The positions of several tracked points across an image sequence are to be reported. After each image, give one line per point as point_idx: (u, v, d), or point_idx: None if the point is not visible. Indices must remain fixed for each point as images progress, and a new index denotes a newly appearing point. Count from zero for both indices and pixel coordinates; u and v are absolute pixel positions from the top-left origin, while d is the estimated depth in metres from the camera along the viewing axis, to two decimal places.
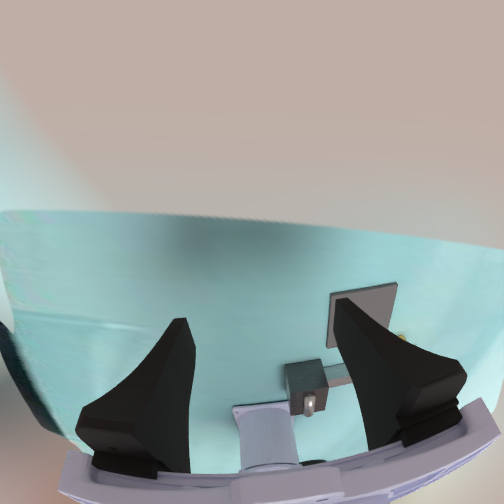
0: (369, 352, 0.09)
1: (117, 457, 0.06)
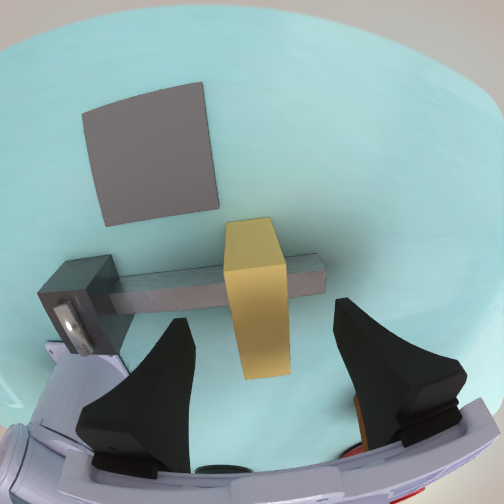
0: (369, 352, 0.09)
1: (117, 457, 0.06)
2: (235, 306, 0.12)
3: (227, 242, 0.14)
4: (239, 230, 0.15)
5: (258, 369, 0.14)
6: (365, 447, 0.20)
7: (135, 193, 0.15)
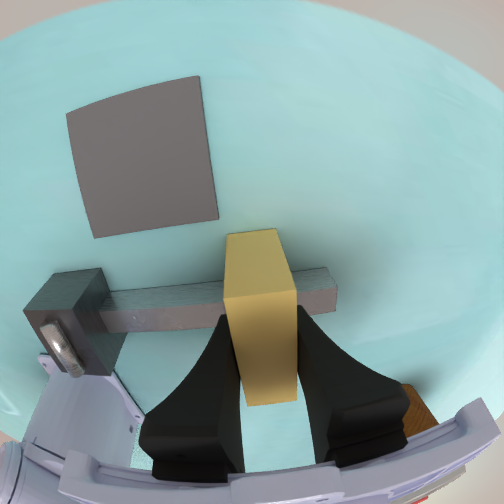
0: (309, 364, 0.09)
1: (182, 464, 0.06)
2: (237, 335, 0.10)
3: (228, 259, 0.12)
4: (242, 244, 0.13)
5: (262, 396, 0.12)
6: None
7: (125, 202, 0.13)
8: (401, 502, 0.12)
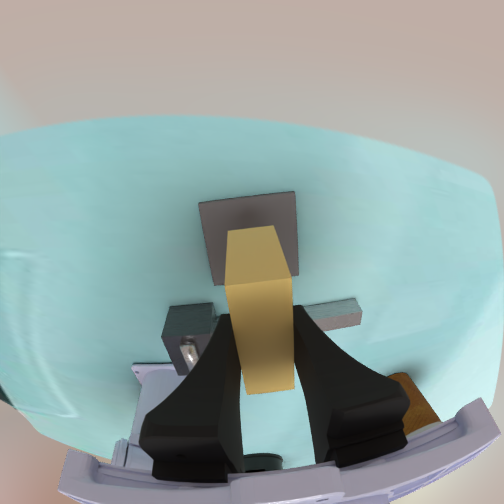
0: (309, 364, 0.09)
1: (182, 464, 0.06)
2: (237, 321, 0.11)
3: (228, 253, 0.13)
4: (242, 239, 0.14)
5: (261, 384, 0.13)
6: None
7: None
8: None
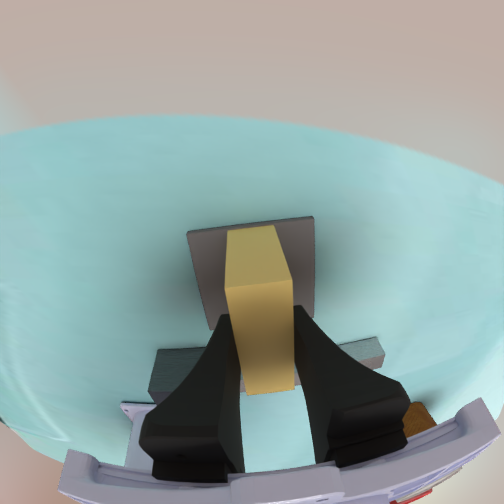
0: (309, 364, 0.09)
1: (182, 464, 0.06)
2: (237, 323, 0.11)
3: (228, 253, 0.13)
4: (241, 239, 0.14)
5: (261, 385, 0.13)
6: None
7: None
8: None
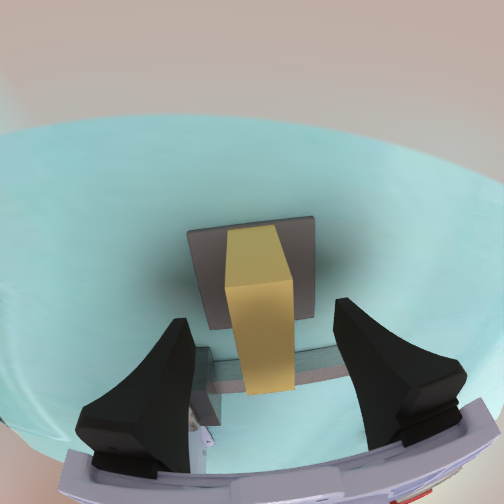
0: (369, 352, 0.09)
1: (117, 457, 0.06)
2: (237, 323, 0.11)
3: (229, 253, 0.13)
4: (242, 239, 0.14)
5: (261, 385, 0.13)
6: None
7: None
8: None
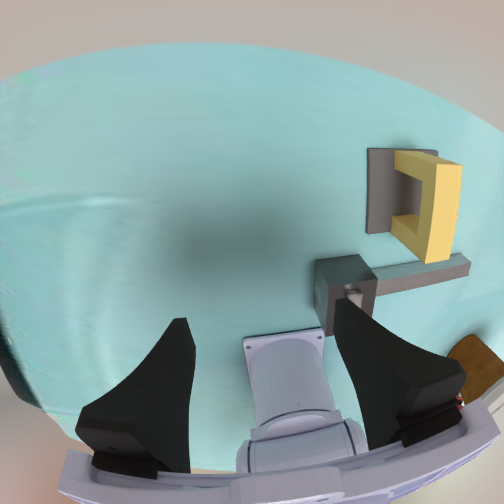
0: (369, 352, 0.09)
1: (117, 457, 0.06)
2: (437, 191, 0.15)
3: (414, 156, 0.16)
4: (411, 153, 0.17)
5: (434, 252, 0.17)
6: (464, 385, 0.26)
7: (394, 213, 0.21)
8: (493, 401, 0.20)
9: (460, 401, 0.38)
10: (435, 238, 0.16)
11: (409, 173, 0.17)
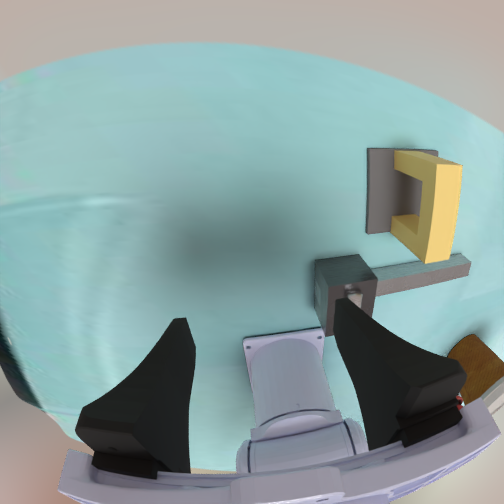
0: (369, 352, 0.09)
1: (117, 457, 0.06)
2: (437, 191, 0.15)
3: (414, 156, 0.16)
4: (411, 153, 0.17)
5: (434, 252, 0.17)
6: (464, 385, 0.26)
7: (394, 213, 0.21)
8: (493, 401, 0.20)
9: (460, 401, 0.38)
10: (435, 238, 0.16)
11: (409, 173, 0.17)
